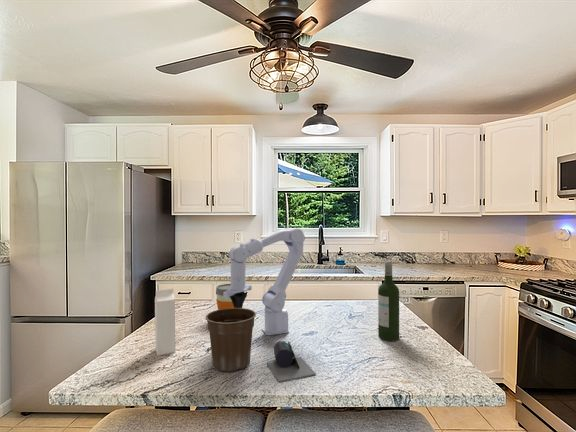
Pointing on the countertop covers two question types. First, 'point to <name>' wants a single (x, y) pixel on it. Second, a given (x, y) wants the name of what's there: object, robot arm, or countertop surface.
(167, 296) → the milk
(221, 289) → the reusable coffee cup
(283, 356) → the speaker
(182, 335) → the countertop surface
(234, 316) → the plant pot
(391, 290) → the wine bottle
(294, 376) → the mat
